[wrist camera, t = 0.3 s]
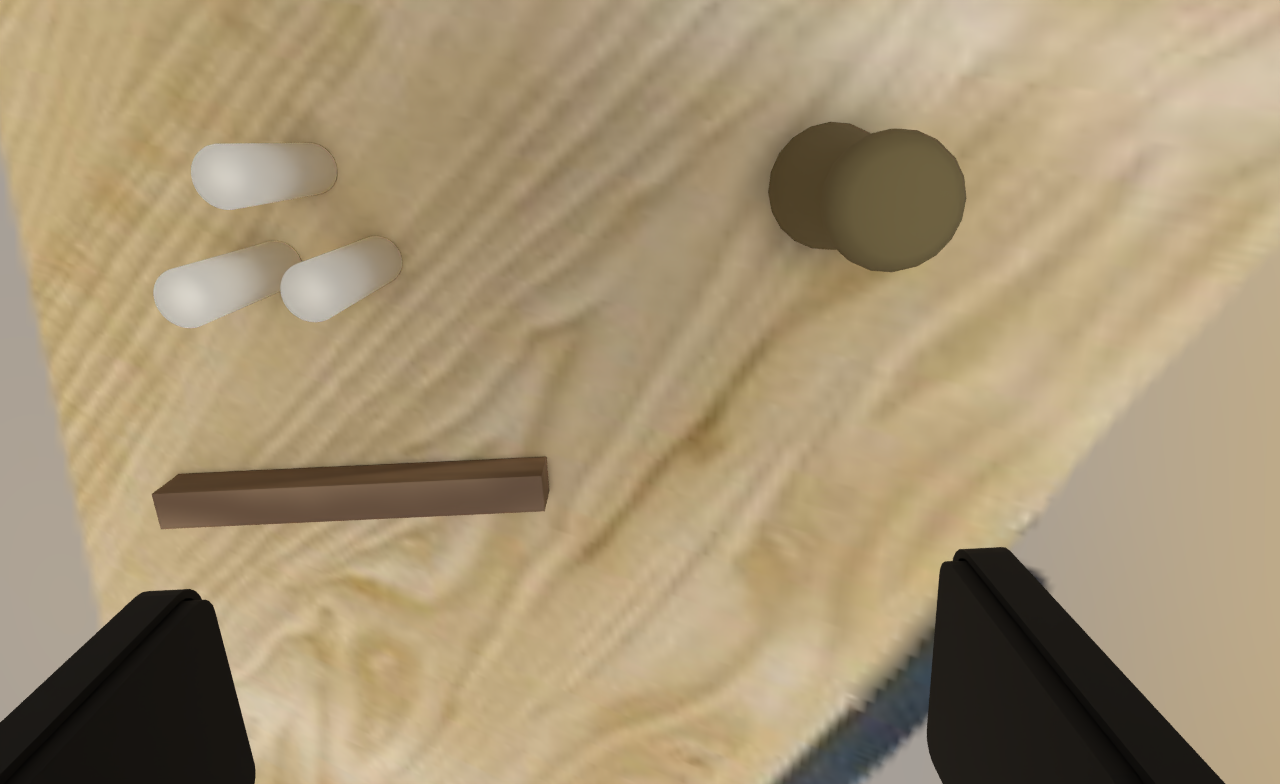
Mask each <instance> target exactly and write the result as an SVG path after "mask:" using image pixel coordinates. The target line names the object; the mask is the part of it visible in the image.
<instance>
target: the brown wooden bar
mask: <svg viewBox="0 0 1280 784" xmlns="http://www.w3.org/2000/svg"><path fill="white" fill-rule="evenodd" d="M548 494H549V481H548V470H547V458H546V457H534V458H512V459H491V460H470V461H448V462H427V463H405V464H384V465H363V466H341V467H320V468H299V469H277V470H256V471H235V472H213V473H192V474H178V475H177V476H175V477H174V478H173V479H171V480H170V481H169V482H167V483H166V484H165V485H163V486H162V487H161V488H159V489H158V490H157V491H155V492H154V493H153V494H152V497H153V501H154V505H155V509H156V512H157V516H158V520H159V524H160V527H161V529H174V528H195V527H217V526H238V525H259V524H281V523H302V522H324V521H345V520H366V519H388V518H409V517H431V516H452V515H473V514H495V513H516V512H538V511H545V507H546V503H547V499H548Z"/></svg>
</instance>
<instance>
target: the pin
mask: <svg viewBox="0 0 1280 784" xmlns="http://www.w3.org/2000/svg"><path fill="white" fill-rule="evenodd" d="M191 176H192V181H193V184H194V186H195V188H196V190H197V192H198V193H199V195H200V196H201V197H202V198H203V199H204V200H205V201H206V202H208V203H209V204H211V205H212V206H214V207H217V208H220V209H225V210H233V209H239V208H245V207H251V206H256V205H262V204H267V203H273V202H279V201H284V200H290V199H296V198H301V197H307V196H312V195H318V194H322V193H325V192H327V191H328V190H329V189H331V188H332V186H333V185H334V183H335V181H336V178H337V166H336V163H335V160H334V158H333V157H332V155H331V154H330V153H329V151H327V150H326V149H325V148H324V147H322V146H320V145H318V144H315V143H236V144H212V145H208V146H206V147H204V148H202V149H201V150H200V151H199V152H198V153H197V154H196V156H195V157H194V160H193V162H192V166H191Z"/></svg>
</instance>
